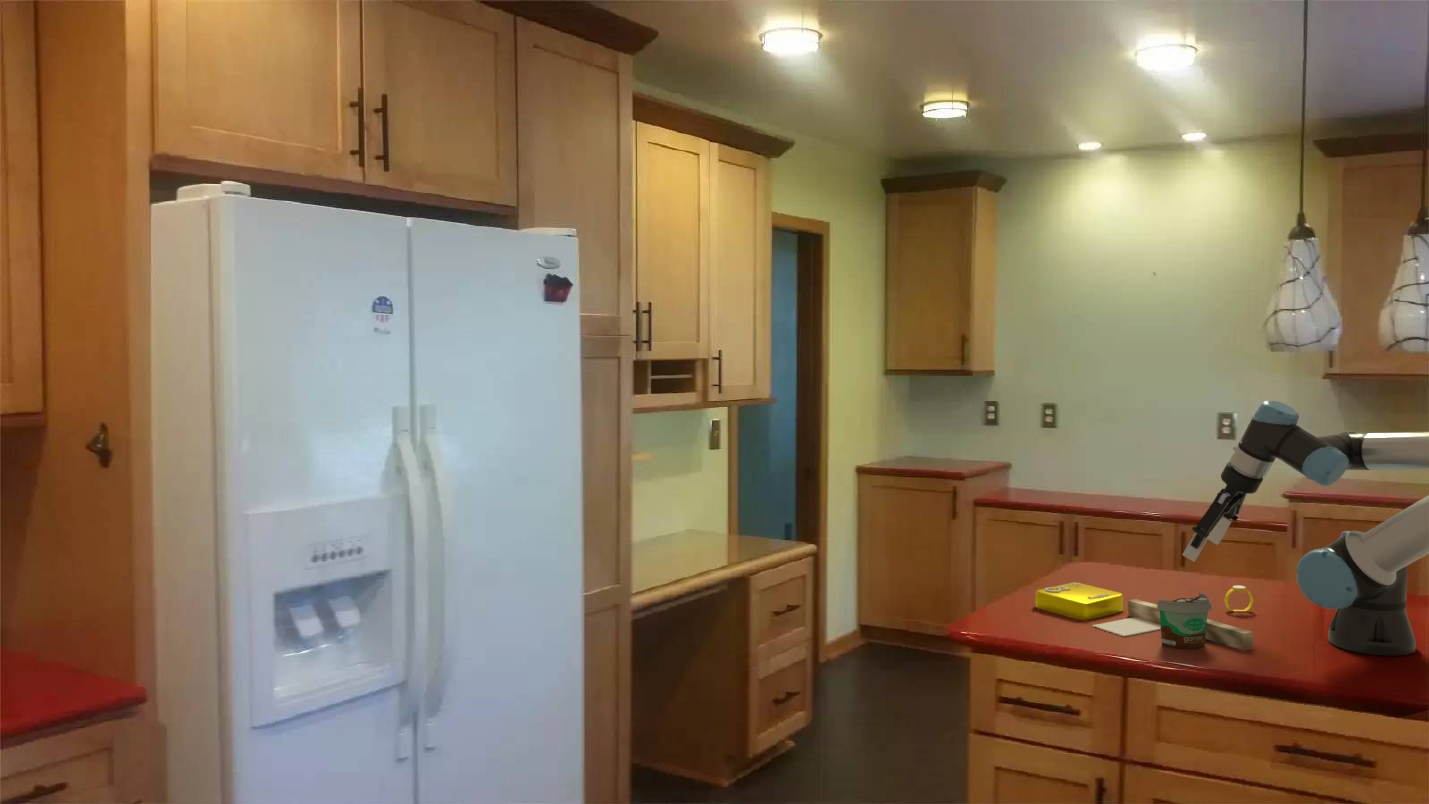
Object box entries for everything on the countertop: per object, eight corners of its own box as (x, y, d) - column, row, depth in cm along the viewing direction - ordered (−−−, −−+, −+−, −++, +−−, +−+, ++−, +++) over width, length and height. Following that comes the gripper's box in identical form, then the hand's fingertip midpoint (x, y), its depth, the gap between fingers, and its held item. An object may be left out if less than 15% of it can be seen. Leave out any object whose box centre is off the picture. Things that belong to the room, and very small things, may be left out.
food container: (1180, 655, 214) (1181, 606, 213) (1156, 647, 219) (1157, 599, 219) (1224, 646, 219) (1225, 598, 218) (1200, 638, 224) (1201, 592, 223)
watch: (1228, 614, 243) (1226, 589, 242) (1223, 611, 246) (1222, 586, 245) (1255, 613, 242) (1254, 587, 242) (1251, 609, 245) (1249, 584, 245)
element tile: (1083, 622, 239) (1083, 601, 239) (1031, 608, 252) (1031, 588, 252) (1126, 612, 247) (1126, 592, 247) (1074, 598, 260) (1074, 579, 259)
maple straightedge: (1252, 648, 217) (1252, 631, 216) (1242, 650, 215) (1242, 634, 215) (1136, 614, 244) (1136, 599, 243) (1126, 615, 242) (1126, 600, 242)
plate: (1167, 628, 232) (1167, 627, 232) (1123, 637, 226) (1123, 635, 226) (1135, 618, 240) (1135, 617, 240) (1092, 626, 235) (1092, 625, 235)
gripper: (1249, 448, 234) (1206, 525, 244) (1207, 472, 217) (1162, 555, 226) (1282, 465, 230) (1237, 544, 240) (1242, 492, 213) (1194, 575, 222)
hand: (1200, 549), depth 233 cm, fingers open, 13 cm apart
